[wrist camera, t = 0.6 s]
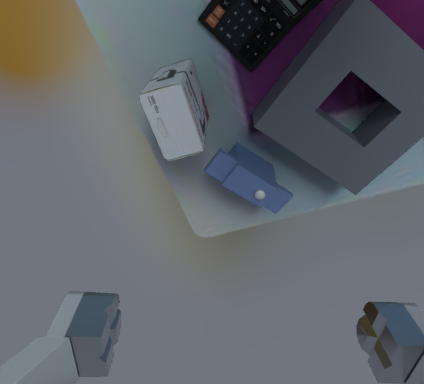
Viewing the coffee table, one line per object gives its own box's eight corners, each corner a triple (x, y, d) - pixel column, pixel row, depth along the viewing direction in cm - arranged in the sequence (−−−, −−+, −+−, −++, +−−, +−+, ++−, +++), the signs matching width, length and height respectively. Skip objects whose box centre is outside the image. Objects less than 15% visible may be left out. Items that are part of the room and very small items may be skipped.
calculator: (198, 18, 39) (196, 21, 37) (266, -74, 34) (269, -78, 32) (251, 70, 43) (252, 76, 40) (321, -6, 37) (327, -5, 35)
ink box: (210, 117, 46) (205, 154, 37) (179, 125, 47) (166, 164, 38) (191, 56, 42) (180, 81, 32) (157, 67, 43) (136, 94, 33)
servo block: (221, 132, 48) (219, 155, 41) (286, 174, 51) (294, 202, 45) (206, 151, 50) (203, 177, 43) (271, 190, 53) (276, 219, 47)
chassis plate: (346, -10, 37) (361, -8, 33) (447, 83, 42) (471, 95, 38) (251, 113, 46) (254, 126, 41) (345, 177, 51) (355, 194, 47)
